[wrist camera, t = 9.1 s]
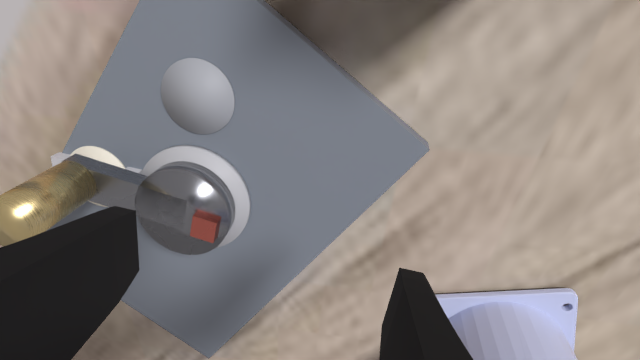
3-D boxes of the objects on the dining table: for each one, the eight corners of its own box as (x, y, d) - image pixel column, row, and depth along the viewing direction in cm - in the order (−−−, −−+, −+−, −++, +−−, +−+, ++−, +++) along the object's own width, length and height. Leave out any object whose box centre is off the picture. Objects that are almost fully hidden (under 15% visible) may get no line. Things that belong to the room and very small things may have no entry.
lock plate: (427, 142, 19) (431, 154, 18) (214, 346, 28) (205, 366, 26) (183, -70, 17) (165, -75, 16) (31, 223, 25) (10, 237, 24)
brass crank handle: (243, 178, 20) (197, 238, 15) (227, 253, 22) (183, 327, 17) (69, 123, 20) (-30, 166, 15) (70, 203, 22) (-15, 263, 17)
